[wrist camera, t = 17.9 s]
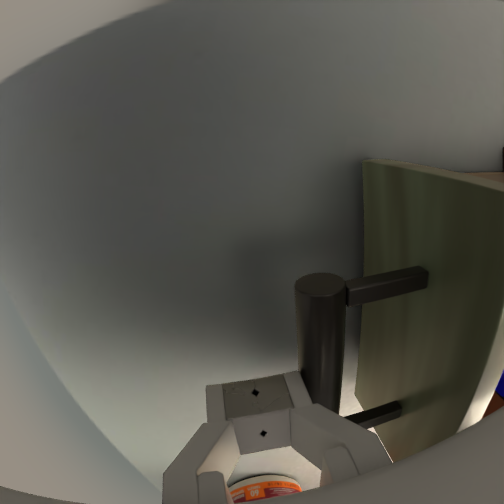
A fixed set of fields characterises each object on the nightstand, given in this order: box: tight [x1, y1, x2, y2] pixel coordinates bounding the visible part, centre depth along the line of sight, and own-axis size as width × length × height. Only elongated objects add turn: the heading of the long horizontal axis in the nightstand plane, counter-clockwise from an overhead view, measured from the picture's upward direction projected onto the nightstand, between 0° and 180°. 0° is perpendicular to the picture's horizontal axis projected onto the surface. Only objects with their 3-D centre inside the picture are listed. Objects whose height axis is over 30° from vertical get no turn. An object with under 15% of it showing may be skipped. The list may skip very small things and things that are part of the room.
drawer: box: [294, 159, 504, 463], centre depth 11 cm, size 20×12×8 cm, turn 96°
